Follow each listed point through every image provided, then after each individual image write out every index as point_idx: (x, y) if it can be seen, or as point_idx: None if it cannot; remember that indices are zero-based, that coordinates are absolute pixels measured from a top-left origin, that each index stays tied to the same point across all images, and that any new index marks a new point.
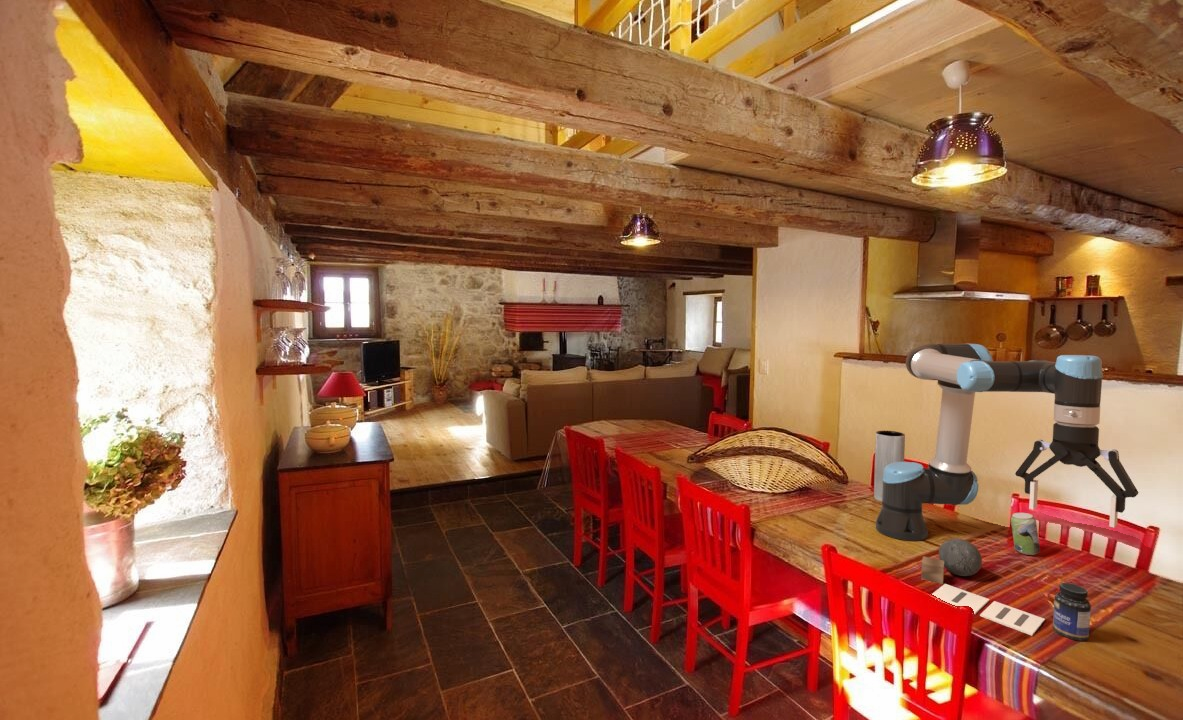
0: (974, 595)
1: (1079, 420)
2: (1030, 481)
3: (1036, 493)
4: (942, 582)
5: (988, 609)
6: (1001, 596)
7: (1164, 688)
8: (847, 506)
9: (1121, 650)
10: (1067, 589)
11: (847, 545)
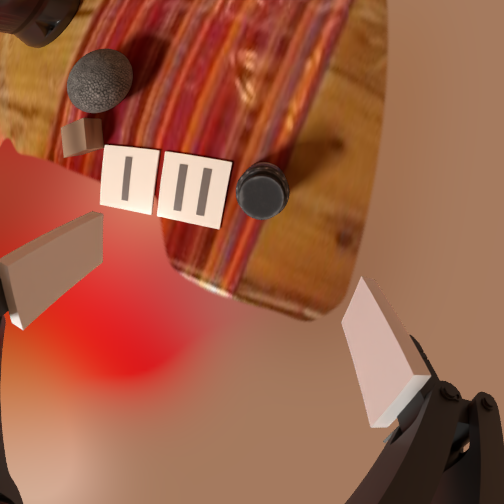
0: (140, 154)
1: None
2: (7, 307)
3: (59, 254)
4: (101, 147)
5: (162, 190)
6: (173, 118)
7: (348, 263)
8: None
9: (321, 191)
10: (251, 215)
11: (12, 125)
